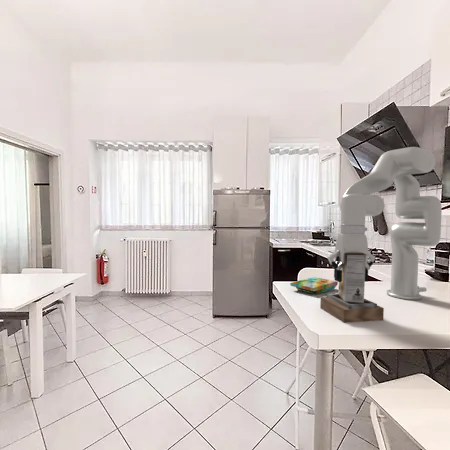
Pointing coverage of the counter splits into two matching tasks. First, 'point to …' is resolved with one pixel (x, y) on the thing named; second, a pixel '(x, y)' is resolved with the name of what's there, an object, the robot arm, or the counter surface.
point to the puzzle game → (315, 285)
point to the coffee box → (353, 278)
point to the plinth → (351, 309)
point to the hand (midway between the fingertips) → (350, 280)
